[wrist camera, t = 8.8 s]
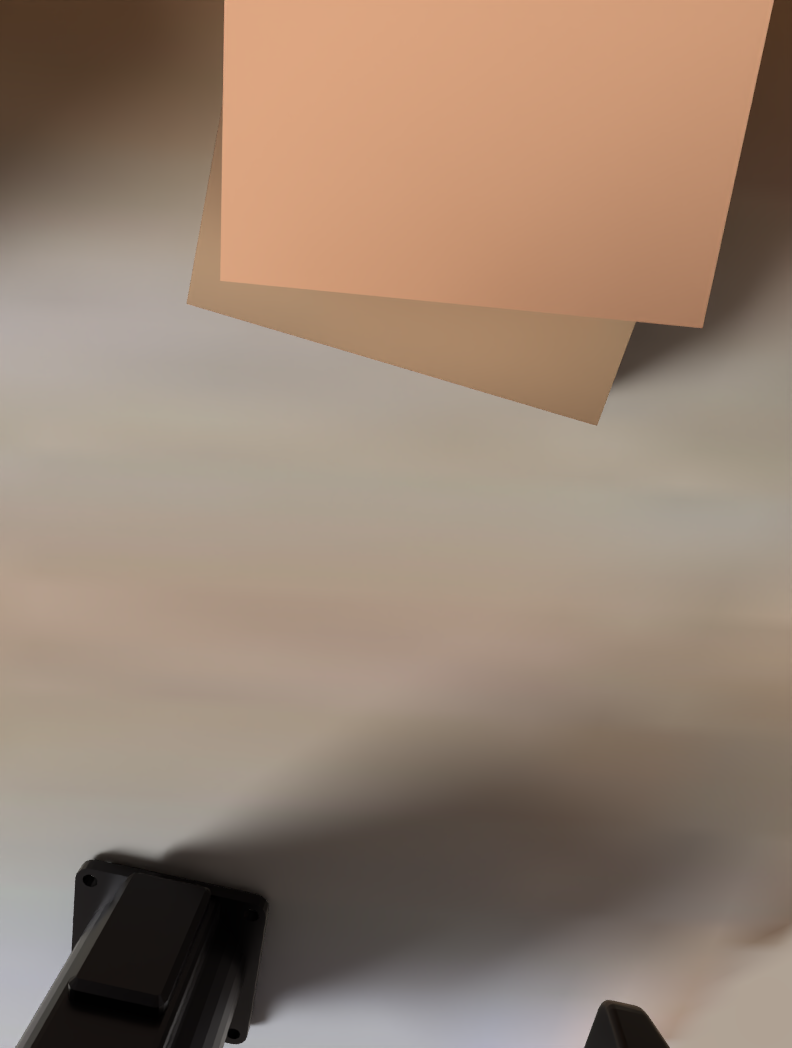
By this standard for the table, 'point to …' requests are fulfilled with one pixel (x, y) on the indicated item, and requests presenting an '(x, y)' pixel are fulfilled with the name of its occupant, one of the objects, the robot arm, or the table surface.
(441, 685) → the table surface
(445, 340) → the block
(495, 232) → the cube
